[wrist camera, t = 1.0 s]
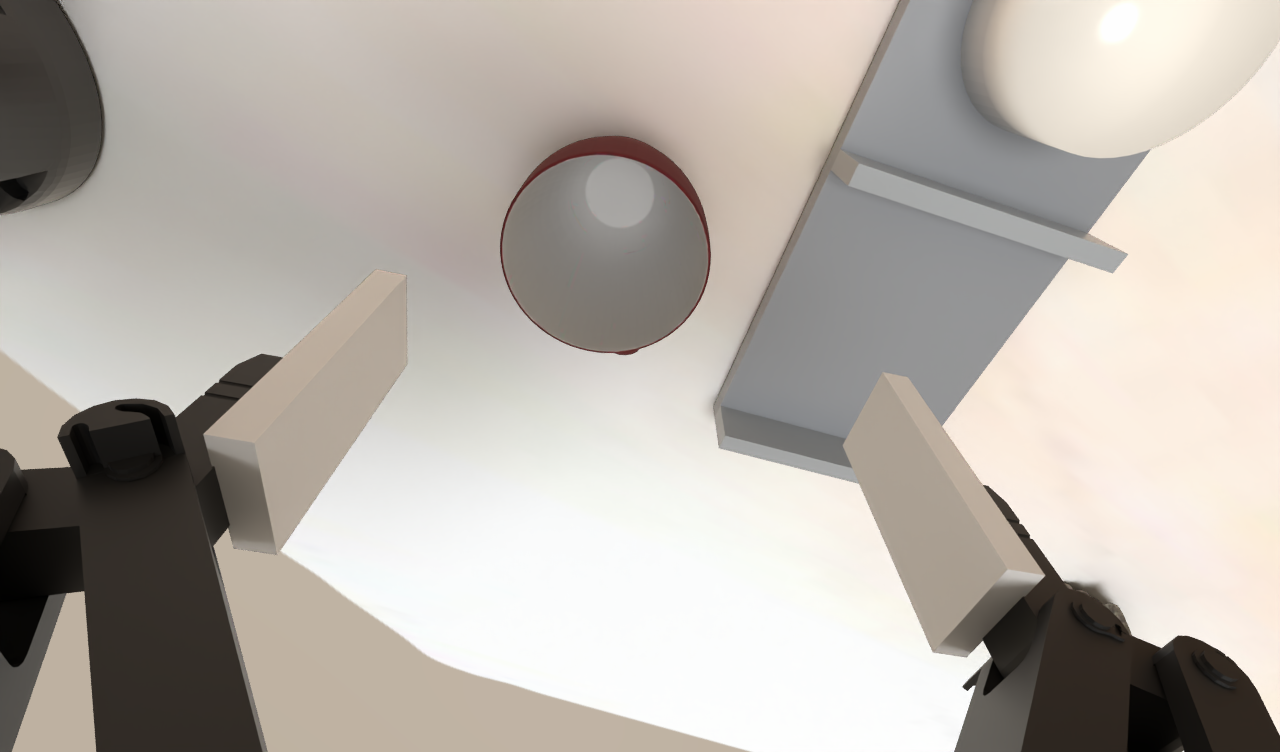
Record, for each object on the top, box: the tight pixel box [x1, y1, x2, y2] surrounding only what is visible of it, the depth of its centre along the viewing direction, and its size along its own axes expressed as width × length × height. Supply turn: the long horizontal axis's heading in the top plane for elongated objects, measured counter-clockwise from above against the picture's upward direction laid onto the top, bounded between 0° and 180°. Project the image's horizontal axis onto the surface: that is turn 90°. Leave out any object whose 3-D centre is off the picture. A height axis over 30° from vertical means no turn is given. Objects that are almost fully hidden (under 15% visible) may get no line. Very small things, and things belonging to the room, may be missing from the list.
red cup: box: [500, 136, 711, 355], centre depth 26 cm, size 10×8×10 cm
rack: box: [713, 0, 1151, 484], centre depth 28 cm, size 14×33×4 cm, turn 163°
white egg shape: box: [961, 0, 1280, 158], centre depth 22 cm, size 9×9×5 cm
